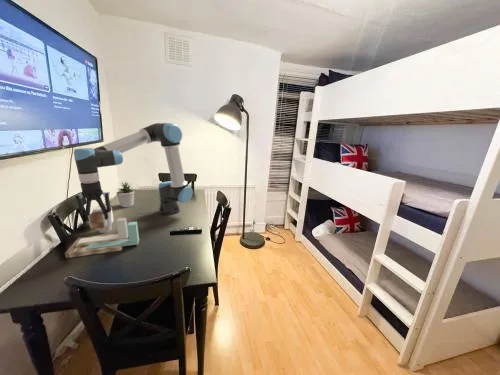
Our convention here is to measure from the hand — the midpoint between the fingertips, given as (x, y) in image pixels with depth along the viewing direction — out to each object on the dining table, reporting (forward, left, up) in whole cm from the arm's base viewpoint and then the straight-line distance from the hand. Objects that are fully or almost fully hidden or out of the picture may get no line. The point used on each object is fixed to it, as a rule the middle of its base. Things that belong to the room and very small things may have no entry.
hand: (99, 225), depth 106 cm
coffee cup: (+5, -22, -13) cm, 26 cm away
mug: (+8, -32, -13) cm, 36 cm away
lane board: (+2, -3, -13) cm, 13 cm away
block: (0, 0, 0) cm, 0 cm away
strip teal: (-5, 0, -12) cm, 13 cm away
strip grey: (+1, -7, -12) cm, 14 cm away
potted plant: (+1, -67, -13) cm, 69 cm away
